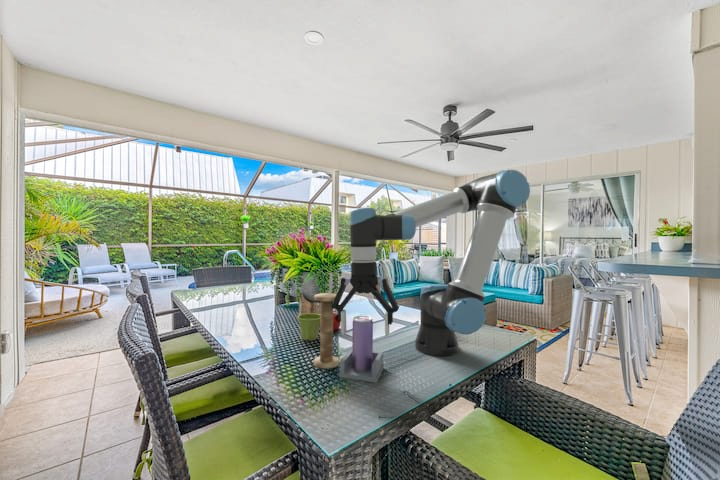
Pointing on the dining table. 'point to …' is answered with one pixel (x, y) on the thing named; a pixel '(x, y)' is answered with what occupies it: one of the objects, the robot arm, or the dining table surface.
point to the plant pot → (309, 326)
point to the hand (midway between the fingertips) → (365, 333)
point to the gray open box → (370, 376)
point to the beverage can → (362, 343)
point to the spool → (326, 332)
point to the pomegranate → (335, 321)
